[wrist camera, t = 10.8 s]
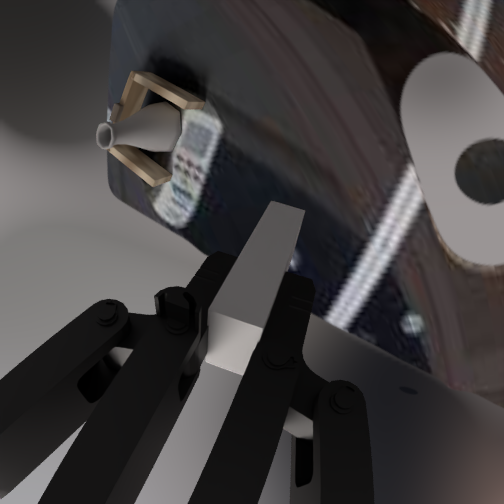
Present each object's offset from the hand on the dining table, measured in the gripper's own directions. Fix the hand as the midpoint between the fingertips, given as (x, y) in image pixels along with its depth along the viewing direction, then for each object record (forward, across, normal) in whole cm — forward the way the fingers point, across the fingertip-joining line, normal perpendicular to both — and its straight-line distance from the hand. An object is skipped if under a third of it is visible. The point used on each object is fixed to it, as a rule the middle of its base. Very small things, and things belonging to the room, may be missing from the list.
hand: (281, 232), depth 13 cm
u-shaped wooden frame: (+22, +21, +4) cm, 31 cm away
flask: (+23, +21, +4) cm, 31 cm away
